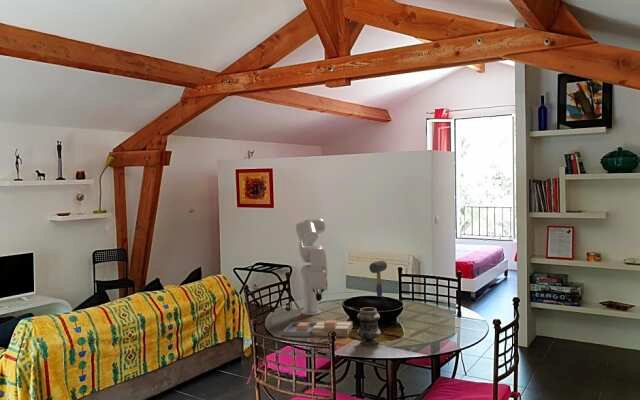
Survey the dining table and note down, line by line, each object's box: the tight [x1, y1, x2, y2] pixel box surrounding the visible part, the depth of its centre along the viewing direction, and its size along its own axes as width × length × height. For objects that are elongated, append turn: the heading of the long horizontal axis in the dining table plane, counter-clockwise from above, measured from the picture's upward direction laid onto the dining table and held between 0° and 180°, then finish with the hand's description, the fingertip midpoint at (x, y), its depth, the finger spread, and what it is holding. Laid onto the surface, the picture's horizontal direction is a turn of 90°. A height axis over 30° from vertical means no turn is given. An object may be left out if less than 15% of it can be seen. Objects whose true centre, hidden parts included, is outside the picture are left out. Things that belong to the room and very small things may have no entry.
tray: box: [282, 321, 318, 338], centre depth 291 cm, size 19×16×2 cm
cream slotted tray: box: [311, 320, 354, 337], centre depth 287 cm, size 15×20×4 cm
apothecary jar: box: [356, 306, 382, 347], centre depth 263 cm, size 12×12×18 cm
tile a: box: [297, 323, 310, 331], centre depth 294 cm, size 6×6×3 cm
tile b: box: [324, 319, 338, 328], centre depth 283 cm, size 6×6×3 cm
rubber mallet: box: [368, 260, 388, 298], centre depth 341 cm, size 12×8×30 cm, turn 141°
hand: (319, 300), depth 291 cm, fingers closed
